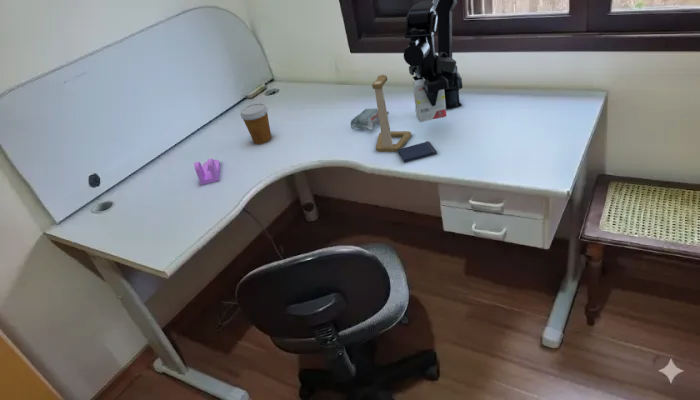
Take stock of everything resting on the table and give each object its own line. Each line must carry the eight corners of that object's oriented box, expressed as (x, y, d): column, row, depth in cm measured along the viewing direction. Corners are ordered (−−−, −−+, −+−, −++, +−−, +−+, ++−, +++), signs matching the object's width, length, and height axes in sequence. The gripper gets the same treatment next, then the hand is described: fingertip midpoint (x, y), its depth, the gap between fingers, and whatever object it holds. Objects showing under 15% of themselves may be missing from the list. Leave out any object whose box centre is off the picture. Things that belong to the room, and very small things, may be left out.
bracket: (218, 180, 163) (211, 161, 159) (201, 185, 163) (193, 166, 159) (220, 161, 174) (213, 143, 170) (204, 165, 174) (197, 147, 170)
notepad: (429, 143, 158) (428, 140, 157) (437, 154, 152) (436, 151, 151) (397, 152, 157) (397, 149, 156) (404, 163, 151) (404, 159, 150)
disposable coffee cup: (281, 136, 182) (272, 104, 175) (260, 148, 176) (250, 116, 170) (264, 131, 188) (255, 100, 181) (244, 143, 182) (233, 112, 176)
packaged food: (390, 119, 177) (387, 105, 174) (371, 135, 169) (369, 121, 167) (368, 116, 182) (366, 104, 179) (350, 132, 174) (347, 119, 172)
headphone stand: (412, 134, 164) (403, 68, 152) (404, 152, 156) (394, 83, 144) (380, 135, 168) (369, 70, 156) (371, 152, 160) (358, 85, 148)
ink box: (443, 110, 162) (440, 74, 155) (446, 117, 158) (444, 80, 151) (416, 116, 162) (412, 80, 156) (419, 122, 158) (415, 86, 151)
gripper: (464, 54, 142) (467, 107, 150) (440, 37, 157) (444, 85, 166) (425, 65, 141) (431, 116, 149) (405, 46, 156) (411, 94, 165)
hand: (430, 102), depth 157 cm, fingers closed on ink box, 5 cm apart
